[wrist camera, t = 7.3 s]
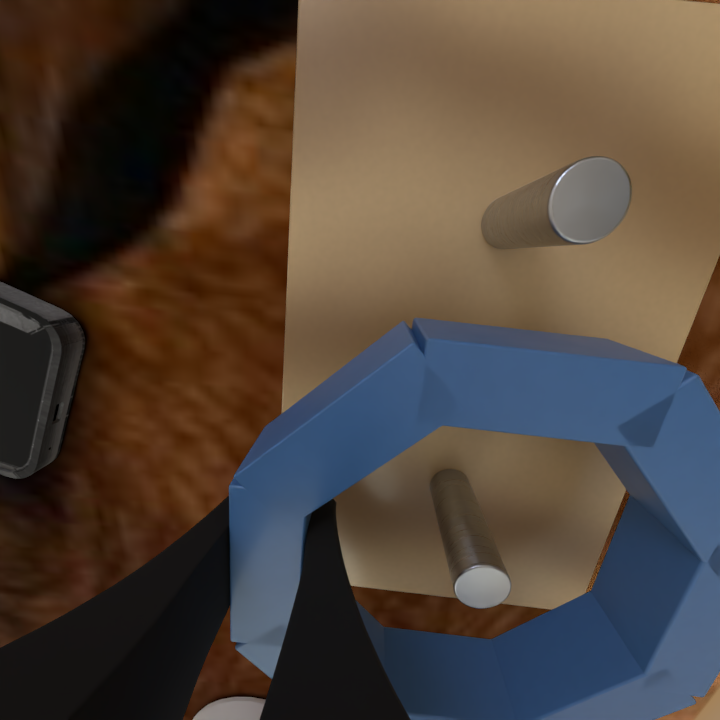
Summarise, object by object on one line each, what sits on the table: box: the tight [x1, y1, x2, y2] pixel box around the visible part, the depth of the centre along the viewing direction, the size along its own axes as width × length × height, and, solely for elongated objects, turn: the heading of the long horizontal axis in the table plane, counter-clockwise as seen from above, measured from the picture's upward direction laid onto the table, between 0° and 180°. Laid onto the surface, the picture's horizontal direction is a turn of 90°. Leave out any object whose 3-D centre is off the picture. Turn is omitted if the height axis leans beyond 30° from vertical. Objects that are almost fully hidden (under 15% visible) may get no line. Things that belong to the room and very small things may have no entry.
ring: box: [229, 318, 720, 720], centre depth 10 cm, size 14×14×3 cm
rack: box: [282, 0, 720, 610], centre depth 11 cm, size 22×14×6 cm, turn 174°
